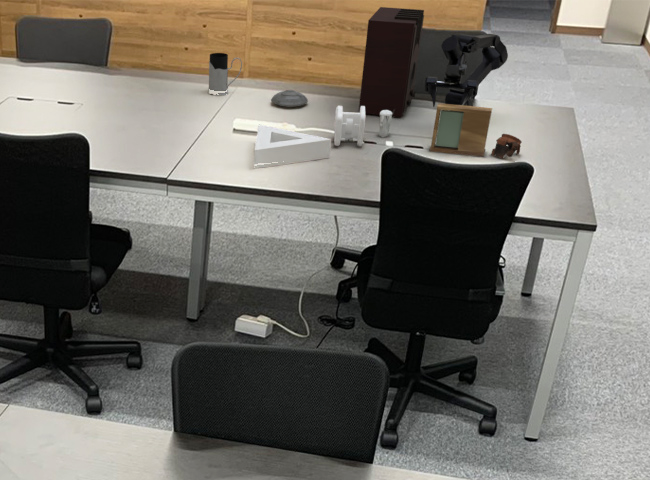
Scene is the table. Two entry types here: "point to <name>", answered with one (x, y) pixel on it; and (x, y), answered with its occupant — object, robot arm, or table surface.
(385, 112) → the milkshake
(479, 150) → the door frame
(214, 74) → the glass holder
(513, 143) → the brown miniature stool
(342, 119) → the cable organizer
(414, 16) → the radio
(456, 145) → the door
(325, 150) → the triangle block
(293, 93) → the flying saucer
